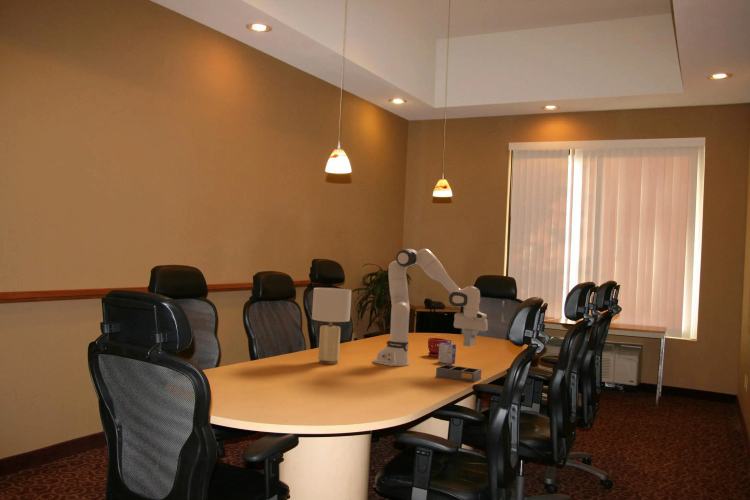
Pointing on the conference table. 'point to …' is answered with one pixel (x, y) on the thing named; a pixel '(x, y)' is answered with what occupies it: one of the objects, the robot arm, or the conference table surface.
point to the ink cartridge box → (447, 352)
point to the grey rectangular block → (469, 337)
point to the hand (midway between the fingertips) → (469, 337)
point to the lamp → (330, 320)
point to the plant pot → (432, 348)
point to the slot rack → (458, 373)
